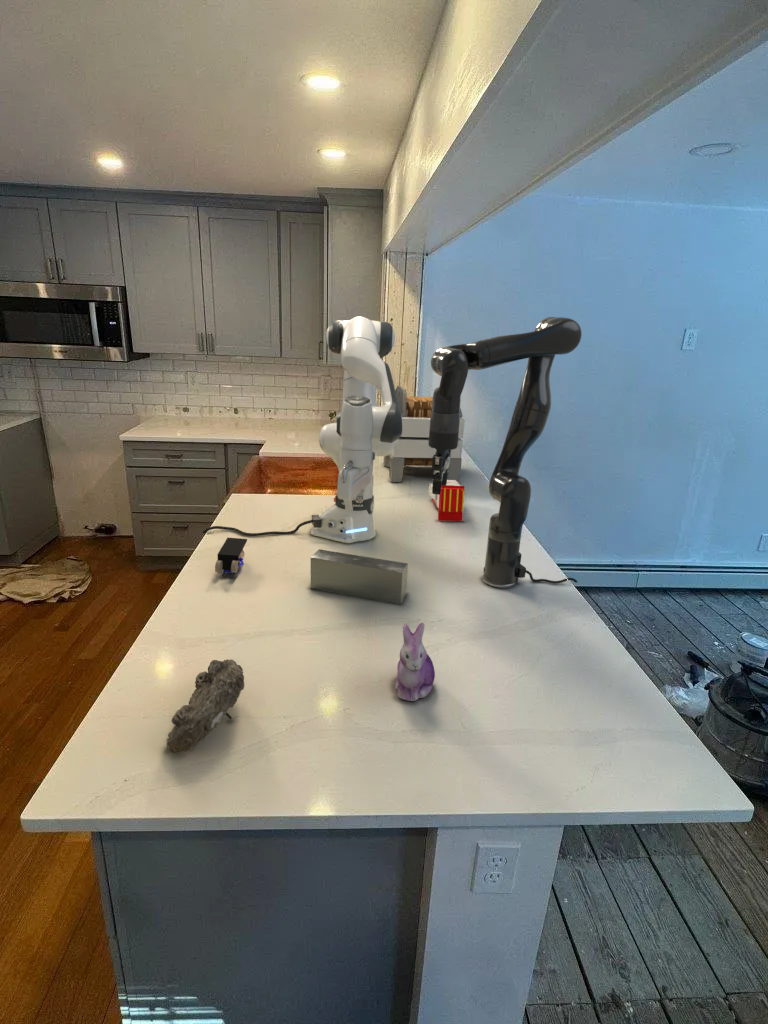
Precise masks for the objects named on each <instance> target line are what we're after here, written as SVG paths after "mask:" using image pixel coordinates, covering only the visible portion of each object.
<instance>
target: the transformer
mask: <svg viewBox="0 0 768 1024" xmlns="http://www.w3.org/2000/svg"><path fill="white" fill-rule="evenodd" d="M395 392H396V397H397V402H398V406H399V409H400V412H401V415H402V419H403V431H402V435H401V436H400V437H399V438H398V439H397V445H396V448H395V450H394V451H393V453H392V454H390V455H386V456H383V466H384V467H388V468H389V475H388V476H389V477H388V478H389V480H390V482H391V483H402V482H403V475H404V469H405V466H406V467H407V466H411V467H412V466H413V467H415V466H416V467H417V466H418V467H431V466H432V460H433V459H432V457H433V456H434V455H435V453H436V449H435V448H431V447H430V446H429V430H430V418H431V413H432V401H433V396H415V395H414V396H413V395H412V396H411V395H407V394H408V393H407V390H406V389H404V388H403V387H402V385H399V384H398V385H397V386H396V388H395ZM459 416H460V424H459V436H458V446H457V448H456V449H453V450H451V459H450V468H449V470H448V474H447V480H456V481H457V482H458V483H459V484H460V483H461V472H462V461H463V460H462V453H463V442H464V441H463V440H462V439H463V438H464V431H465V430H464V429H465V419H464V418H463V411H462V408H461V407H460V414H459Z"/></svg>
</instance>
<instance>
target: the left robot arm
mask: <svg viewBox="0 0 768 1024" xmlns="http://www.w3.org/2000/svg"><path fill="white" fill-rule="evenodd" d="M325 340H326V344H327V346H328V349H329V351H331V353H334V354H337V355H340V359H341V365H342V368H343V379H342V380H343V381H342V405H341V409H340V410H339V411H338V412H337V413H336V414H335V415H336V422H333V423H332V422H331V423H326V424H324V425H323V427H321V429H320V431H319V433H318V444H319V447H320V449H321V450H322V452H323V453H324V454H325V455H327V456H329V458H330V459H332V461H333V462H334V464H335V465H336V467H337V470H338V475H337V476H338V477H337V488H336V495H335V496H334V497H333V502H334V504H333V505H331V506H329V507H328V508H326V509H325V510H323V512H321V514H311V519H310V520H306V521H302V522H301V523H300V524H298V525H297V526H296V527H295V528H294V529H293V530H291V531H276V530H275V531H274V530H273V531H264V532H246V531H242V530H241V529H238V528H237V527H231V526H221V525H213V526H209V527H206V528H205V529H204V530H203V531H202V532H201V533H202V534H206V533H208V532H209V531H212V530H226V531H233V532H236V533H238V534H241V535H243V536H247V537H261V536H267V535H268V536H269V535H293V534H295V533H297V532H298V530H299V529H300V528H301V527H303V526H304V525H305V526H306V525H308V524H312V528H311V530H310V533H311V536H315V537H319V538H323V539H326V540H330V541H336V542H339V543H343V544H352V543H357V542H365V541H368V540H372V539H373V538H375V537H376V535H377V532H376V528H375V523H374V513H373V512H374V509H375V496H374V474H373V469H374V461H375V460H376V458H379V457H384V456H386V455H390V454H392V453H393V451H394V450H395V448H396V445H397V439H398V438H399V437H400V436H401V435H402V431H403V419H402V415H401V412H400V409H399V406H398V402H397V397H396V392H395V390H396V388H395V384H394V380H393V379H394V378H393V375H392V371H391V368H390V366H389V364H388V363H387V362H385V361H384V360H383V358H384V357H386V356H388V355H389V354H390V353H391V352H392V349H393V347H394V345H395V341H396V335H395V331H394V328H393V325H392V324H391V323H390V322H388V321H384V320H380V321H379V320H372V319H369V318H367V317H365V316H355V317H353V318H351V319H347V320H341V319H336V320H333V321H331V322H330V323H329V324H328V327H327V329H326V334H325ZM377 389H378V390H379V392H380V397H381V402H382V406H378V403H377Z"/></svg>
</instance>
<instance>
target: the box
mask: <svg viewBox="0 0 768 1024" xmlns="http://www.w3.org/2000/svg"><path fill="white" fill-rule="evenodd" d="M408 565H409V563H407V562H401V561H395V560H390V559H383V558H378V557H377V558H376V557H372V556H371V557H370V556H365V555H357V554H352V553H346V552H339V551H332V550H326V549H321V548H320V549H317V550H316V551H315V552H314V553H313V554H312V555H311V557H310V589H312V590H318V591H324V592H329V593H334V594H339V595H340V594H341V595H345V596H352V597H356V598H362V599H368V600H374V601H379V602H386V603H391V604H396V605H402V603H403V600H404V599H405V597H406V595H407V583H408V582H407V581H408V567H409V566H408Z"/></svg>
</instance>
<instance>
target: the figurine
mask: <svg viewBox="0 0 768 1024" xmlns="http://www.w3.org/2000/svg"><path fill="white" fill-rule="evenodd" d="M424 632H425V623H424V622H420V623H419V624H418V625H417V626H416V629H415V631H414V632H412V630H411V629H410V626H409V625H408V624H407V623H404V624H403V625H402V637H403V644H402V646H401V647H400V651H399V660H398V662H397V667H396V671H397V673H396V678H395V683H394V686H395V689H396V691H397V696H398V698H399V699H401V700H404V701H408V702H416V701H417V700H419V699H423V698H426V697H427V696H428V695H429V694H430V693H431V691H432V690H433V686H434V682H435V677H436V671H435V666H434V663H433V660H432V659H431V656H430V655H429V654H428V653H427V650H426V648H425V646H424V644H423V637H424Z"/></svg>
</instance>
